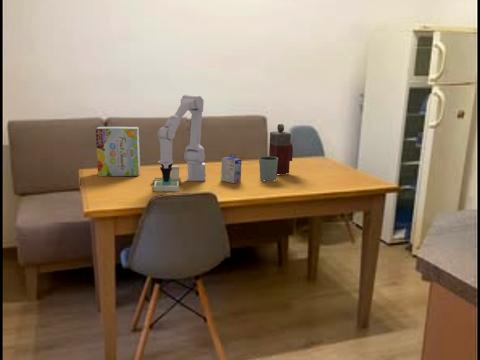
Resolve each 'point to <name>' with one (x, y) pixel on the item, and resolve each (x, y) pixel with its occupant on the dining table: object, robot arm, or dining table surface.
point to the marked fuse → (166, 182)
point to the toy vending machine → (281, 149)
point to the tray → (159, 186)
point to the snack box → (118, 151)
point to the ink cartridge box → (231, 169)
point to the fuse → (175, 172)
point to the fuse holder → (161, 179)
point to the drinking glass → (268, 168)
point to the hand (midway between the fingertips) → (166, 179)
